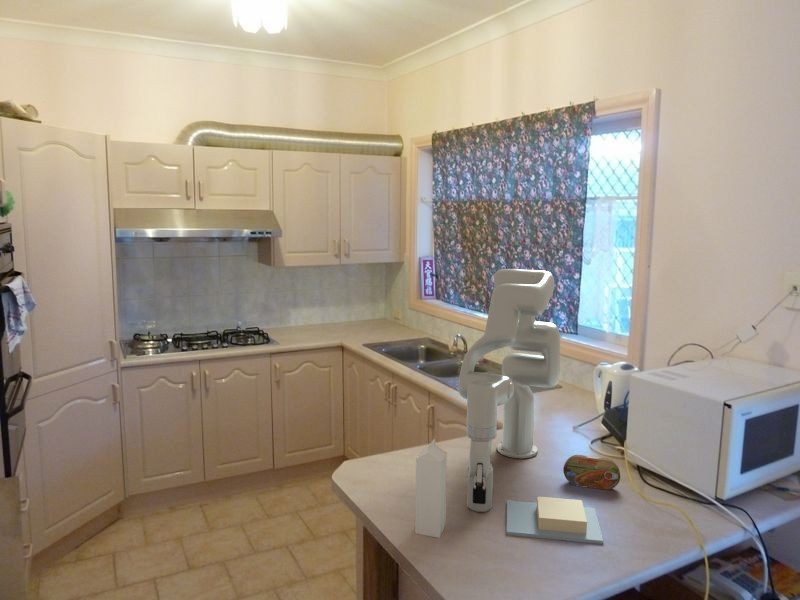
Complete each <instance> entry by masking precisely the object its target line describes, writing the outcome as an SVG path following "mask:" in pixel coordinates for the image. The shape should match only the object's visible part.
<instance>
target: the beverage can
mask: <svg viewBox="0 0 800 600" xmlns="http://www.w3.org/2000/svg"><path fill="white" fill-rule="evenodd" d="M482 468H483V465H482ZM485 475H486V474H485ZM476 476H477V473H476ZM482 477H484V474H482ZM476 481H477V479H476ZM482 482H483V479H482ZM493 484H494V468H493V464H492V462H490V467H489V473H488V478H486V479H485V488H486V503H485V504H476V503H473V487H474V477H471V478H470V477H469V466H468V467H467V491H466V492H467V493H466V494H467V495H466V496H467V498H466V505H467V507H468V508H469V509H470V510H471V511H472V512H475V513H486V512H489V511H490V510H491V509H492V508H493V488H494V485H493Z"/></svg>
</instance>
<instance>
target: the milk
mask: <svg viewBox="0 0 800 600" xmlns="http://www.w3.org/2000/svg"><path fill="white" fill-rule="evenodd" d="M447 453H448V452H447V451H446V450H444V449H443V448H441V447H440V446H439V445H437V444H436V437H435V438H433V439H432V441H431V442H430V444H429V445H428V446H427V447H425V448H423V449H422V450H421V451H420V452H419V454H418V455H417V457H416V458H415V520H414V521H415V525H414V526H415V528H414V529H415V530H414V531H415V534H416V535H421V536H427V537H433V538H438V539H440V538H441V535H442V533H443V531H444V530H445V527H446V516H447V515H446V514H447V513H446V512H447V509H446V508H447V462H448V461H447V458H448V457H447V456H448V455H447Z"/></svg>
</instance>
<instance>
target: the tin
mask: <svg viewBox="0 0 800 600" xmlns="http://www.w3.org/2000/svg"><path fill="white" fill-rule="evenodd" d="M562 472H563V475H564V477H565V479H566V480H567V481H568V483H570V484H572V485H573V486H576V485H578V486H577V487H582V486H587V487H586V488H589V487H592V488H591V489H596V488H597V490H602V491H603V490H604V491H608V490H613V489H614V488H616V487H617V486H618V484H619V483H620V481H621V471H620V468H619V466H618V465H617V463H616V462H615V461H613V460H612V459H610V458H606V457H598V456H592V455H591V456H590V455H583V454H574V455H572V456H570V457H568V459H566V461H565V462H564V465H563V471H562Z"/></svg>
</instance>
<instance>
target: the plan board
mask: <svg viewBox="0 0 800 600" xmlns="http://www.w3.org/2000/svg"><path fill="white" fill-rule="evenodd" d="M602 534H603V533H602V530H601V527H600V523H599V519H598V516H597V512H596V509H595V507H587V506H584V504H583V499H571V498H561V497H560V498H558V497H548V496H537V497H536V502H533V501H531V502H530V501H517V500H508V499H507V500H506V535H507V536H515V537H517V536H518V537H525V538H526V537H527V538H534V539H535V538H537V539H545V540H546V539H547V540H548V539H549V540H557V541H559V540H560V541H565V542H567V541H568V542H577V543H578V542H579V543H588V544H599V545H604V538H603V535H602Z"/></svg>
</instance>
